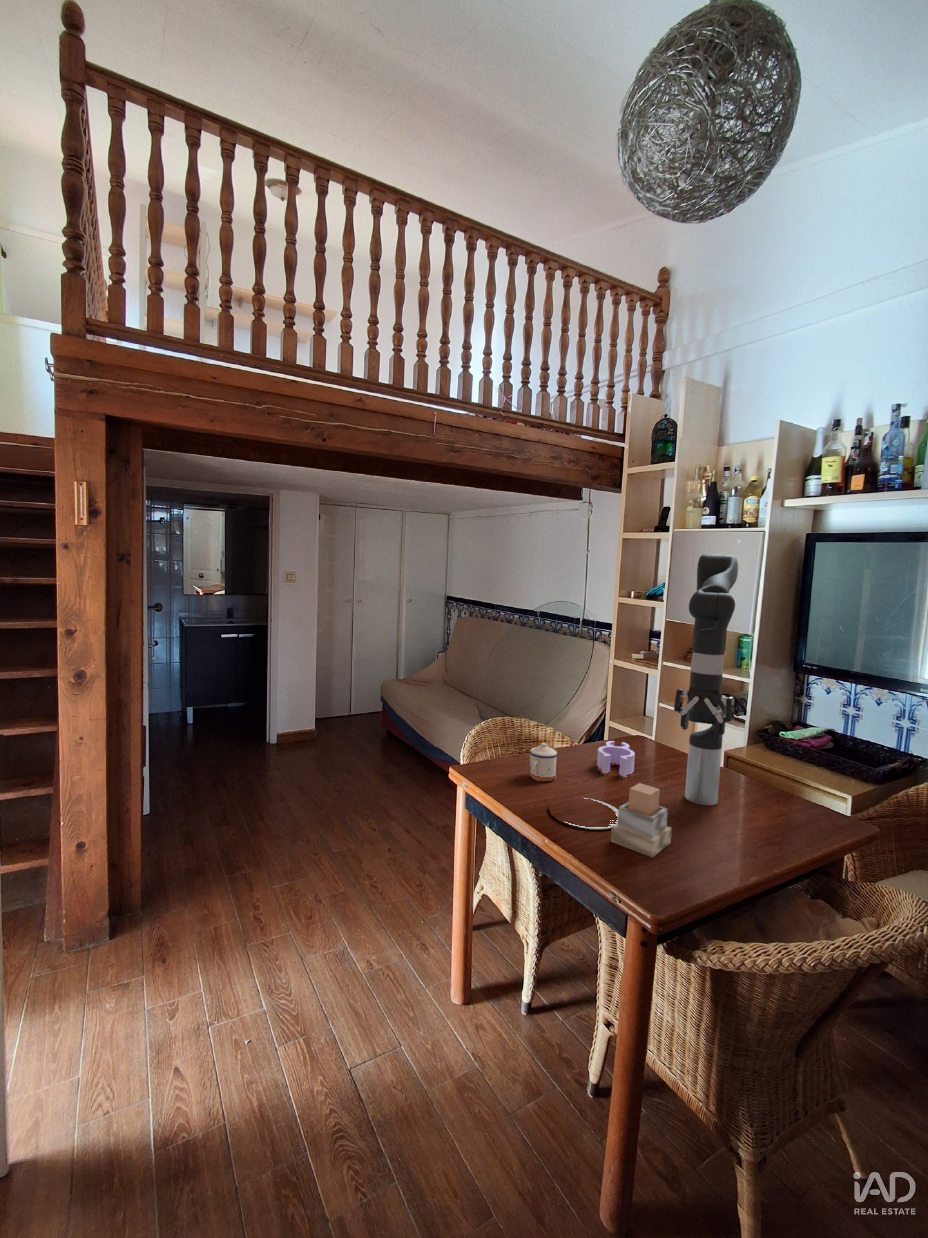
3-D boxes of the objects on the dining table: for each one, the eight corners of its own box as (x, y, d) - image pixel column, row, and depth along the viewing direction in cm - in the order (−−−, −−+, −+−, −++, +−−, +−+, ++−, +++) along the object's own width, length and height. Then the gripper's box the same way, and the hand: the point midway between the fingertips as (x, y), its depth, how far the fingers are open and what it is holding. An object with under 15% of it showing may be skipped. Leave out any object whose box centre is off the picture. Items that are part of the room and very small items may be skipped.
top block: (637, 805, 145) (639, 783, 145) (658, 812, 141) (659, 789, 141) (628, 811, 141) (629, 788, 141) (648, 818, 137) (650, 794, 137)
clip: (599, 757, 210) (600, 739, 209) (634, 762, 206) (635, 743, 205) (595, 774, 191) (596, 755, 190) (633, 780, 187) (634, 760, 186)
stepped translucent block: (630, 828, 150) (632, 795, 149) (670, 843, 142) (673, 808, 142) (610, 841, 142) (613, 807, 141) (652, 857, 134) (655, 821, 134)
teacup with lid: (535, 771, 191) (537, 737, 190) (560, 777, 186) (562, 743, 185) (519, 781, 181) (521, 746, 180) (544, 788, 176) (546, 751, 175)
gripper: (740, 673, 140) (735, 736, 142) (684, 665, 150) (679, 724, 151) (731, 676, 135) (725, 742, 136) (673, 668, 144) (668, 729, 146)
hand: (701, 732), depth 144 cm, fingers open, 8 cm apart
